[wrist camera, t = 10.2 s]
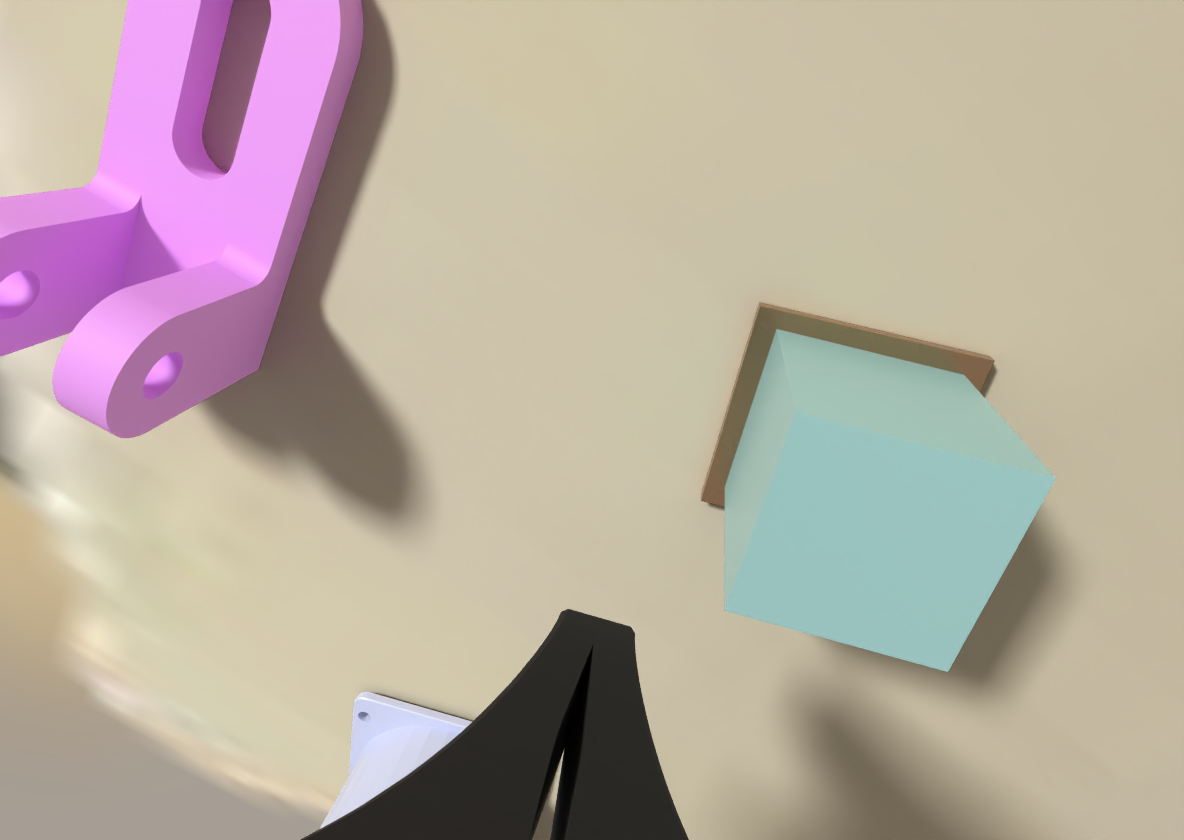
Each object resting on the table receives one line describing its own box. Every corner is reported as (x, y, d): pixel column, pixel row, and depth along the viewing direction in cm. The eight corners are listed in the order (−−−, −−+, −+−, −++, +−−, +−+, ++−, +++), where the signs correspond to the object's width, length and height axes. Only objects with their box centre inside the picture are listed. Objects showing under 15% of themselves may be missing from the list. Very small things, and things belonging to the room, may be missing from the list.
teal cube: (892, 530, 22) (947, 671, 16) (724, 487, 22) (724, 610, 17) (963, 374, 20) (1055, 478, 14) (776, 328, 20) (795, 412, 14)
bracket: (260, 368, 24) (94, 461, 18) (109, 284, 24) (-114, 349, 17) (394, -42, 18) (221, -119, 12) (199, -158, 18) (-82, -298, 12)
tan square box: (902, 545, 22) (940, 641, 18) (701, 494, 23) (696, 576, 19) (989, 356, 20) (1056, 420, 16) (759, 302, 20) (767, 350, 16)
